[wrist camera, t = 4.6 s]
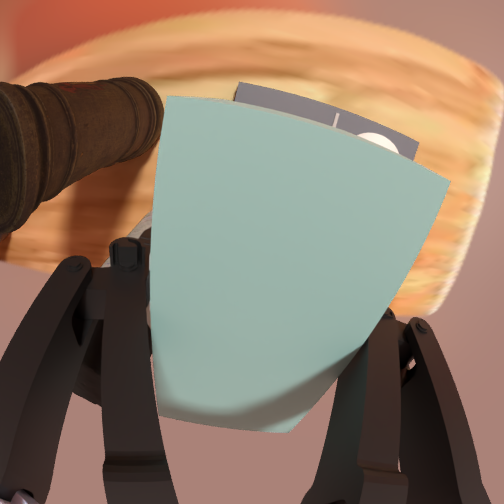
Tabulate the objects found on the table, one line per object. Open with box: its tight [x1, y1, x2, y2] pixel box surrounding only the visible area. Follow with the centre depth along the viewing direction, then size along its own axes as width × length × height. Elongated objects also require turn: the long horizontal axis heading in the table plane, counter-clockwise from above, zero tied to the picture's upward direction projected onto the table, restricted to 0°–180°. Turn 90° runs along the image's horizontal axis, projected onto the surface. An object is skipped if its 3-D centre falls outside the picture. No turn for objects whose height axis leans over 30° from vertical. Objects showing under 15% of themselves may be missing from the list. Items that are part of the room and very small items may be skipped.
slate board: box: [235, 82, 419, 161], centre depth 24 cm, size 18×17×7 cm
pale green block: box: [150, 96, 451, 433], centre depth 12 cm, size 7×13×9 cm, turn 167°
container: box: [0, 77, 164, 234], centre depth 16 cm, size 9×9×18 cm
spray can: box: [72, 210, 153, 407], centre depth 21 cm, size 7×7×20 cm
